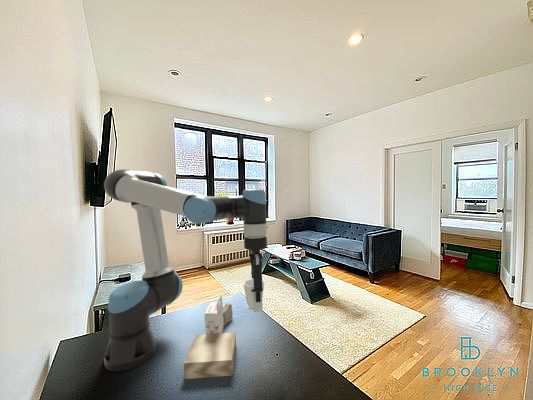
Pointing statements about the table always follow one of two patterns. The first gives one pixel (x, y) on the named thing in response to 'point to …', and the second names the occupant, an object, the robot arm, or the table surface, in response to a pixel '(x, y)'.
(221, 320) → the ink cartridge box
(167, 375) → the table surface
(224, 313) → the mineral specimen
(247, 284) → the cup
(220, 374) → the maple block
